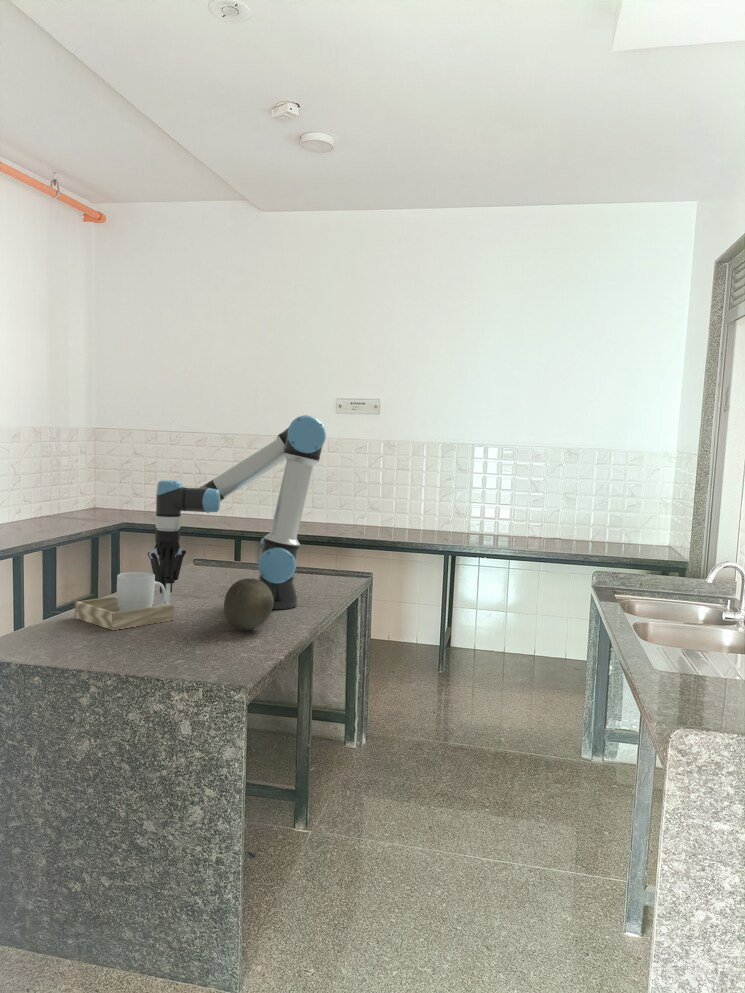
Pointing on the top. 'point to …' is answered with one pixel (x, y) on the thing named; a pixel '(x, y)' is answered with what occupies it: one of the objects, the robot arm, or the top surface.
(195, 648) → the top surface
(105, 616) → the corral
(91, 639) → the top surface
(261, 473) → the robot arm
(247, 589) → the cantaloupe
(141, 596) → the mug
